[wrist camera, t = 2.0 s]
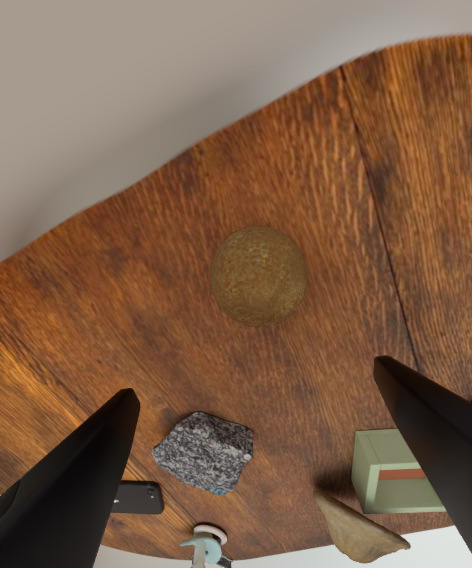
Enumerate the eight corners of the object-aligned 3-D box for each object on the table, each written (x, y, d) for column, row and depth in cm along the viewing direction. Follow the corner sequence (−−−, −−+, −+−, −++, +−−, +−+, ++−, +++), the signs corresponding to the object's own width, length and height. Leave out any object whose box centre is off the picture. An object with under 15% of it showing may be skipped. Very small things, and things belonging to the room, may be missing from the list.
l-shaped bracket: (190, 570, 42) (189, 559, 39) (191, 559, 43) (191, 547, 41) (232, 572, 42) (234, 561, 40) (232, 561, 43) (234, 549, 41)
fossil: (380, 522, 23) (299, 479, 31) (375, 586, 21) (289, 521, 29) (422, 543, 26) (339, 499, 34) (421, 600, 24) (333, 538, 32)
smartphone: (63, 511, 36) (67, 503, 37) (163, 516, 35) (165, 508, 36) (46, 484, 33) (51, 477, 33) (156, 489, 32) (159, 481, 33)
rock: (181, 398, 26) (170, 436, 23) (260, 431, 28) (262, 472, 24) (155, 437, 29) (141, 476, 25) (228, 464, 31) (226, 505, 27)
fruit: (209, 223, 19) (187, 254, 11) (291, 210, 18) (323, 234, 11) (224, 295, 21) (213, 358, 14) (296, 285, 20) (325, 346, 13)
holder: (443, 425, 27) (471, 460, 24) (427, 475, 31) (449, 511, 27) (355, 430, 28) (370, 465, 24) (350, 478, 32) (363, 514, 28)
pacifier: (206, 516, 37) (177, 528, 38) (201, 578, 31) (166, 589, 32) (235, 535, 39) (206, 546, 40) (235, 597, 33) (201, 607, 35)
